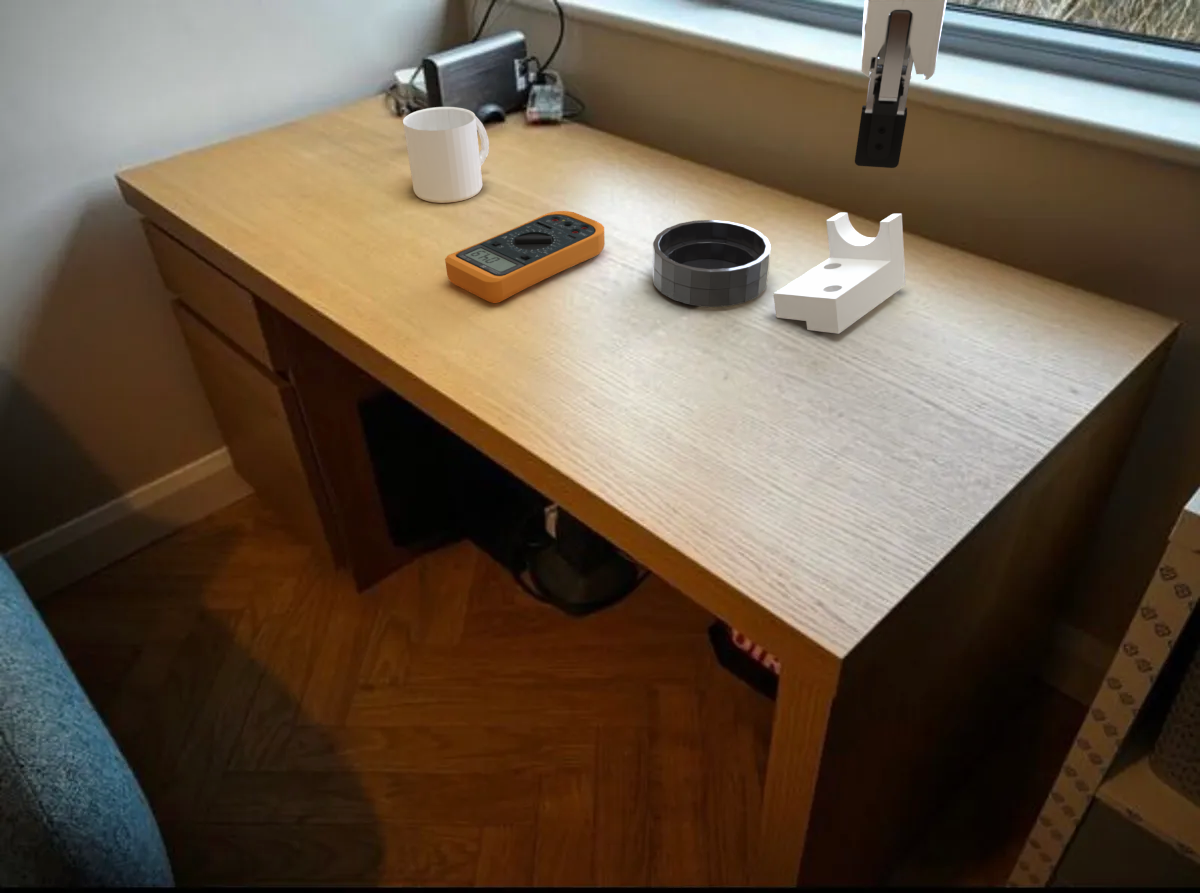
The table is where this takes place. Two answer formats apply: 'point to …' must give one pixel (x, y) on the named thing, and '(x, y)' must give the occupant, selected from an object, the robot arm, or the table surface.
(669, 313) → the table surface
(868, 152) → the robot arm
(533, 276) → the multimeter
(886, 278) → the bracket
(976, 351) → the table surface
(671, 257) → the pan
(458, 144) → the mug
